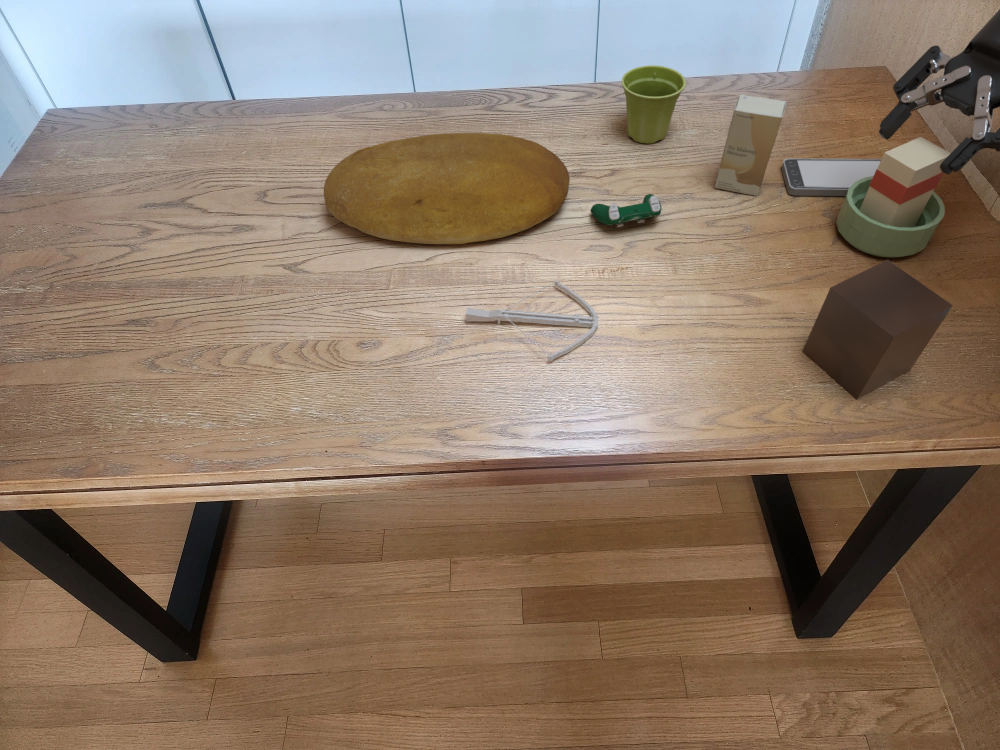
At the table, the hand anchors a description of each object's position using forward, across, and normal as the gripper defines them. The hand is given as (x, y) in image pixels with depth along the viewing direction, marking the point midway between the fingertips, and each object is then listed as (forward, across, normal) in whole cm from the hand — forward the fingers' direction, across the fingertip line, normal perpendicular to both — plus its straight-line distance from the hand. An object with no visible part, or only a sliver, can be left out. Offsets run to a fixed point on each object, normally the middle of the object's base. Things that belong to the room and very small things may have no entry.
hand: (912, 153), depth 77 cm
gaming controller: (+26, -20, -8) cm, 34 cm away
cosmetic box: (+14, -18, +4) cm, 23 cm away
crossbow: (+41, -10, -23) cm, 48 cm away
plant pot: (+16, -36, +2) cm, 39 cm away
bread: (+40, -36, -23) cm, 59 cm away
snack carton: (+7, 0, +9) cm, 12 cm away
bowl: (+8, 0, +10) cm, 13 cm away
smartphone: (+5, -11, +13) cm, 17 cm away
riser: (+21, +14, -4) cm, 26 cm away
